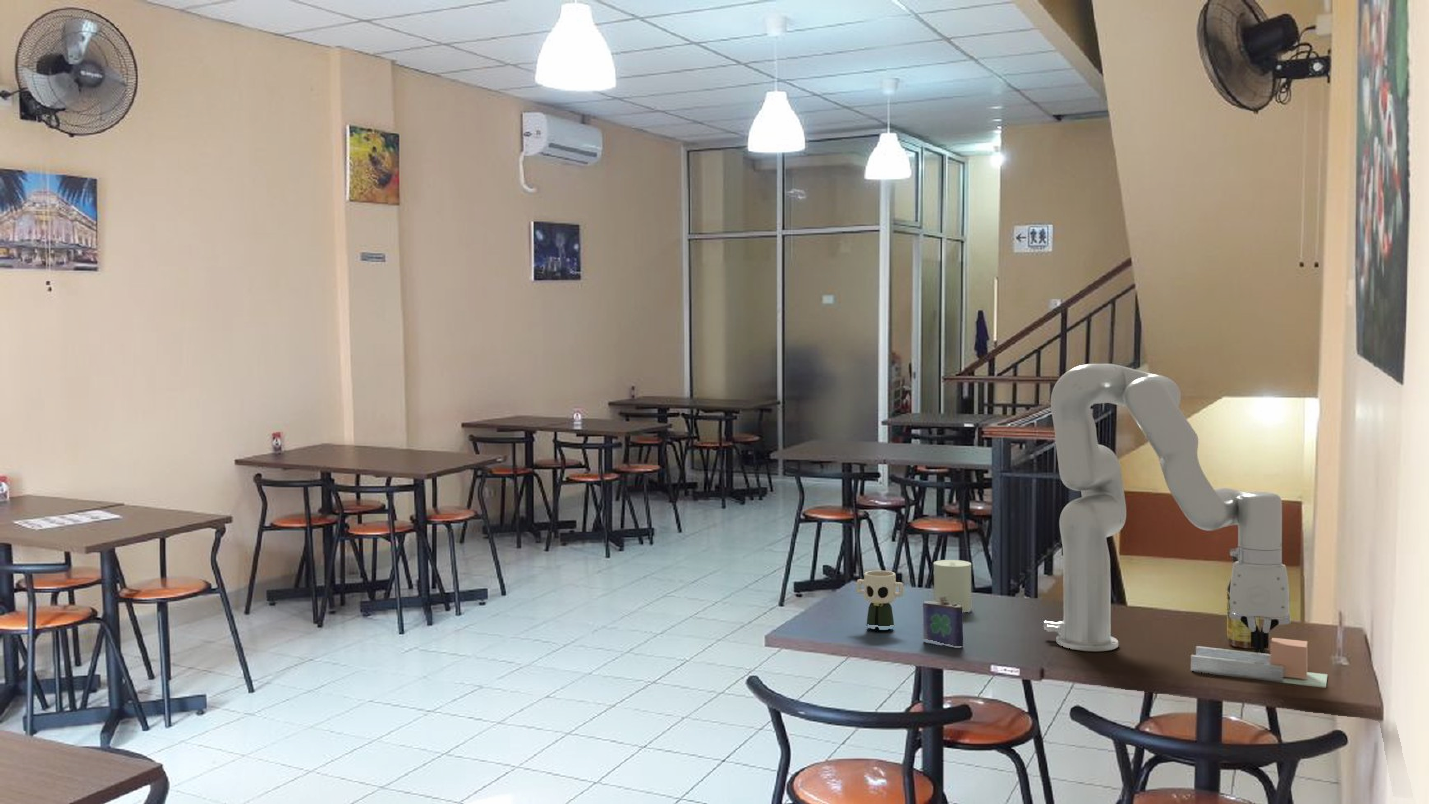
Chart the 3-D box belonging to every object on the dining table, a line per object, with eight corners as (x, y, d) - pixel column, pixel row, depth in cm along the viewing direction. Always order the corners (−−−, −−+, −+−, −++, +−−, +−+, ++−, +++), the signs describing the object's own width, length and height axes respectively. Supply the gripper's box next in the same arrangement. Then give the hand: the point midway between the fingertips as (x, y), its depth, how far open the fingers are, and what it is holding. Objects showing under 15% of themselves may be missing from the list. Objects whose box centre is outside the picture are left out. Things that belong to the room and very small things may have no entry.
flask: (921, 642, 238) (920, 593, 238) (927, 640, 240) (927, 591, 240) (959, 649, 232) (959, 599, 232) (966, 646, 234) (966, 597, 234)
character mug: (852, 631, 249) (852, 574, 249) (862, 624, 256) (861, 568, 255) (899, 635, 245) (898, 577, 244) (907, 628, 251) (907, 572, 251)
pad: (1283, 682, 205) (1283, 681, 205) (1286, 671, 213) (1286, 669, 213) (1325, 687, 202) (1325, 686, 202) (1327, 675, 209) (1327, 674, 209)
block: (1270, 674, 208) (1270, 643, 208) (1272, 668, 212) (1272, 637, 212) (1306, 679, 205) (1306, 647, 205) (1307, 672, 209) (1307, 641, 209)
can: (934, 613, 265) (933, 564, 265) (933, 605, 274) (932, 557, 274) (973, 614, 264) (972, 564, 263) (970, 605, 273) (970, 558, 273)
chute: (1190, 671, 213) (1190, 656, 213) (1196, 660, 221) (1196, 645, 221) (1283, 682, 205) (1283, 666, 205) (1286, 671, 213) (1286, 655, 213)
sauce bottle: (1231, 640, 236) (1231, 548, 235) (1263, 644, 232) (1263, 551, 231) (1223, 646, 231) (1223, 553, 230) (1255, 651, 227) (1255, 556, 226)
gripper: (1214, 556, 211) (1214, 651, 212) (1302, 563, 203) (1302, 661, 204) (1219, 550, 217) (1219, 642, 218) (1304, 556, 210) (1304, 651, 210)
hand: (1259, 651), depth 211 cm, fingers closed
